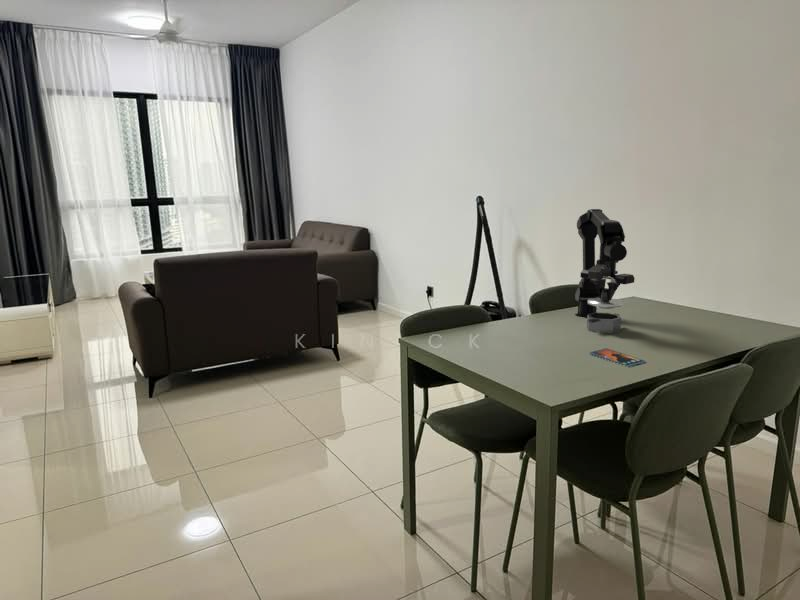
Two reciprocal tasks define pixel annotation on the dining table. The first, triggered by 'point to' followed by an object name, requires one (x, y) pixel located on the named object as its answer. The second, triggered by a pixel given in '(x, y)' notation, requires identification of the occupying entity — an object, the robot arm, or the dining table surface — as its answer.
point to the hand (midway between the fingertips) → (605, 299)
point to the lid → (605, 301)
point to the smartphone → (617, 357)
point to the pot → (604, 322)
